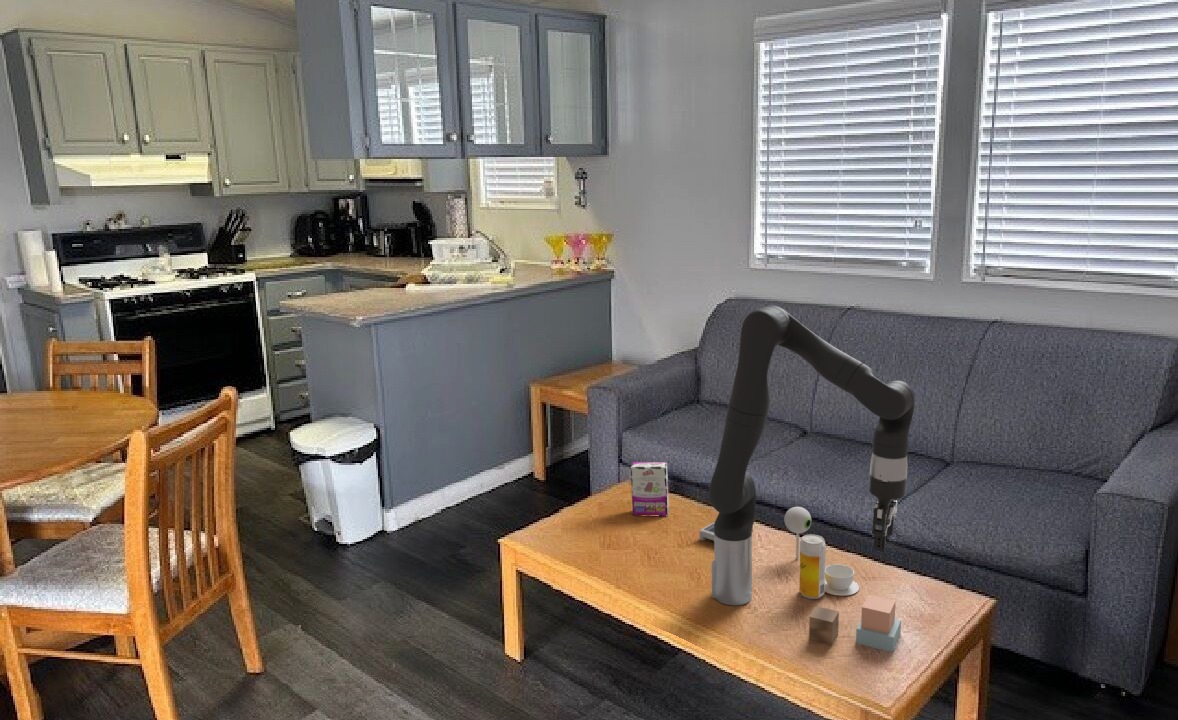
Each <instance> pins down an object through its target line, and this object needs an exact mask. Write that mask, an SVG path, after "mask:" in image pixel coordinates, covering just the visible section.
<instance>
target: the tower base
mask: <svg viewBox="0 0 1178 720" xmlns="http://www.w3.org/2000/svg"><path fill="white" fill-rule="evenodd" d="M901 627H902V619H898V618H895V622H894V624H893V626H892V628H891V630H890V632H889V634H887V633H883V632H879V631H875V630H871V629H867V628H863V627H861V620H860V621H859V623H858V625H857V627H856V634H855V636H856V637H855V644H858V645H863V646H866V647H871V648H874V649H879V650H883V651H887V652H890V653H894V651H895V649H896V646H897V644H898V641H899V639H900V636H901V634H902V633H901V631H902V628H901Z"/></svg>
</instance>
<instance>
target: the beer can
mask: <svg viewBox="0 0 1178 720" xmlns="http://www.w3.org/2000/svg"><path fill="white" fill-rule="evenodd" d="M825 567H826V542H825V538H823V536H821V535H817V534H812V533H811V534H810V533H809V534H805V535H803V536H802V537H801V539H800V540H799V586H798V587H799V592H800V593H801V595H802V596H803V597H804V598H805V599H809V600H817V599H818V600H819V599H821V598H822V597H823V595H825V593H826V592H825Z"/></svg>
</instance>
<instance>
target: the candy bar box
mask: <svg viewBox="0 0 1178 720" xmlns="http://www.w3.org/2000/svg"><path fill="white" fill-rule="evenodd" d="M630 479H631V480H630V484H631V504H632V516H633V515H659V516H658V517H665V516H666V515H667V517H668V516H669V512H670V511H669V510H670V506H669V502H670V501H669V484H668V483H669V479H668V462H665V461H661V462H656V461H655V462H654V461H653V462H647V461H645V462H643V461H641V462H640V461H635V462H634V461H633V462H632V464H631V466H630ZM668 511H669V512H668Z"/></svg>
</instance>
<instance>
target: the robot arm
mask: <svg viewBox="0 0 1178 720" xmlns="http://www.w3.org/2000/svg"><path fill="white" fill-rule="evenodd" d="M741 325H742V326H741V330H740V339H739V340H740V341H739V350H738V351H739V352H738V361H737V366H736V371H735V375H734V379H733V385H732V388H731V389H732V391H731V394H730V398H729V402H728V406H727V407H728V408H727V411H726V412H727V413H726V418H725V422H724V423H725V424H724V428H723V434H722V438H721V439H722V440H721V444H720V450H719V455H718V459H717V462H716V465H715V468H714V472H713V475H712V477H711V480H710V484H709V486H708V488H709V489H708V498H709V500H710V503H711V507H713V509H714V510H715V511H717V513H718V515H717V516H716V519H715V521H714V522H715V523H714V522H713V523H714V540H713V544H714V550H713V551H714V553H713V554H714V556H713V557H714V559H713V561H712V562H711V566H710V567H711V598H713V599H715V600H716V601H717V602H719V603H721V604H725V605H727V606H742V605H743V606H744V605H746V604H747V603H749V602H750V601H752V597H753V594H752V593H753V531H752V527H754V524H755V519H756V503H757V502H756V501H757V491H756V490H757V488H756V483H755V480H754V478H753V477H752V475H751V473H749V472H748V471H747V469H748V465H749V464H750V461H751V458H752V456H753V454H754V452H755V450H756V448H757V446H758V445H759V442H760V441H761V438H762V436H763V433H764V431H765V427H766V423H767V421H768V415H769V409H770V403H771V402H770V401H771V400H770V397H771V396H770V389H769V381H768V375H769V374H768V373H769V368H770V364H771V360H772V357H773V353H774V351H775V348H776V346H779V347H781V348H782V347H783V348H785V349H787V350H790V351H791V352H793V353H795V354H796V355H798V356H799V357H800V358H803V359H804V360H805V361H806V362H807V363H808V364H809V365H810V366H811V367H812V368H813V369H814V370H815V371H816V372H817V373H818V374H819V375H820V376H822V378H824V379H825V380H827V381H828V382H829V383H831V384H832V385H835V386H836V387H838V388H839V389H841V390H842V391H845V392H846V393H848V394H849V395H852V396H853V397H854V398H855V399H856V400H857V401H858V403H860V404H862V405H863V407H865V408H866V409H867V410H869V411H870V412H871V413H872V414H874V415H876V416H877V417H879V420H878V424H877V426H876V427H875V430H874V432H873V438H872V453H871V458H870V464H869V465H870V467H869V480H868V481H869V482H868V491H869V494H871V495H872V496H874V497H875V498H877V501H876V502H875V503H874V508H873V517H872V518H873V519H872V530H871V534H872V535H873V536H874V539H873V540H874V541H873V543H874V544H873V549H874V550H875V551H878V552H885V550H886V544H887V543H886V541H887V540H886V539H887V536H892V535H893V534H894V525H895V523H894V521H895V519H896V517H897V516H896V515H897V513H898V500H900V499H902V498H904V497H905V496H906V493H907V477H908V466H909V465H908V463H909V462H908V449H909V433H910V427H911V424H912V419H913V415H914V410H915V401H916V400H915V399H916V398H915V392H914V390H913V388H912V387H911V386H910V385H909V384H908V383H907V382H906V381H902V380H893V381H889V382H888V383H885V382H883V381H882V380H880V379H879V378H877V377H875V373H874V370H873V369H872V368H871V367H869V366H868V365H867V364H865V363H863V362H862V361H860V360H858V359H856V358H855V357H853V356H850V355H849V354H847V353H845V352H844V351H841V350H840V349H838V348H837V347H836V346H833V345H832V344H830V343H829V342H827V341H826V340H824V339H822V337H820V336H819V335H817V334H816V333H814V332H813V331H811V330H810V329H809V328H807V326H805V325H803V324H802V323H801V322H800V321H799V320H797V318H795V317H794V316H793V315H791V314H790V313H789V312H787V311H786V310H785V309H783V308H782V307H780V306H777V305H766V306H762V307H760V308H757V309H755V310H753V311H751V312H749V313H748V314H747V316H746V317H745V318H744V320H743V323H742V324H741ZM879 526H880V527H881V529H880V528H879Z"/></svg>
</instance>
